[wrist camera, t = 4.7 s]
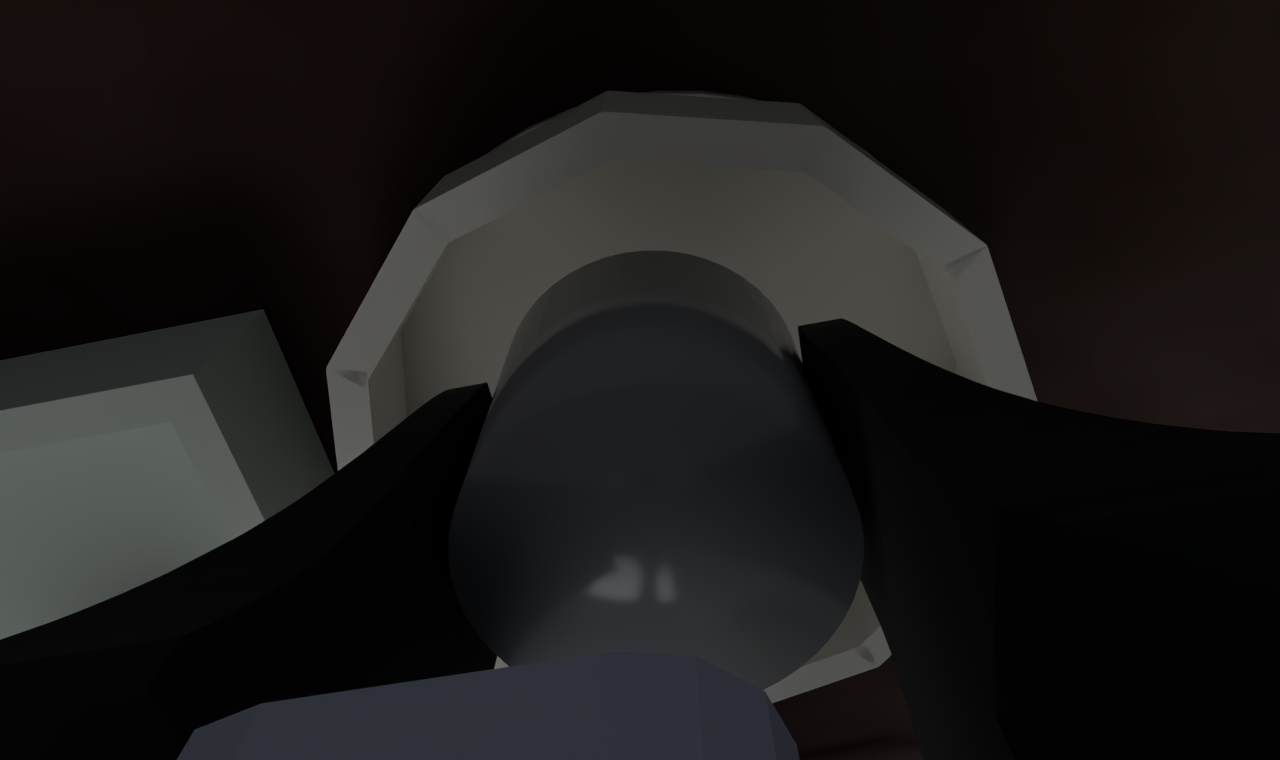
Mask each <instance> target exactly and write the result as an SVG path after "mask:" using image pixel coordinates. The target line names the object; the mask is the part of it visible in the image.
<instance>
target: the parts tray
mask: <svg viewBox="0 0 1280 760" xmlns="http://www.w3.org/2000/svg"><path fill="white" fill-rule="evenodd" d="M333 474H335V473H334V471H333V469H332V466H331V464H330V462H329V459H328V457H327V455H326V453H325V450H324V448H323V446H322V443H321V441H320V439H319V436H318V434H317V432H316V429H315V427H314V425H313V423H312V420H311V418H310V416H309V413H308V411H307V409H306V406H305V404H304V402H303V399H302V397H301V395H300V392H299V390H298V388H297V386H296V383H295V381H294V379H293V376H292V374H291V372H290V369H289V367H288V365H287V362H286V360H285V358H284V355H283V353H282V351H281V349H280V346H279V344H278V342H277V339H276V337H275V335H274V332H273V330H272V328H271V325H270V323H269V321H268V318H267V316H266V314H265V312H264V309H262V310H256V311H251V312H246V313H241V314H236V315H231V316H226V317H220V318H215V319H210V320H205V321H200V322H195V323H190V324H185V325H179V326H174V327H169V328H164V329H159V330H154V331H149V332H143V333H138V334H133V335H128V336H123V337H118V338H113V339H108V340H102V341H97V342H92V343H87V344H82V345H77V346H72V347H66V348H61V349H56V350H51V351H46V352H41V353H36V354H31V355H25V356H20V357H15V358H10V359H5V360H0V640H1V639H4V638H6V637H9V636H12V635H15V634H18V633H21V632H24V631H26V630H29V629H32V628H35V627H38V626H41V625H44V624H47V623H49V622H52V621H55V620H57V619H60V618H63V617H65V616H68V615H70V614H73V613H76V612H78V611H81V610H83V609H85V608H88V607H90V606H93V605H95V604H98V603H100V602H102V601H105V600H107V599H110V598H112V597H115V596H117V595H119V594H122V593H124V592H126V591H129V590H131V589H133V588H135V587H137V586H140V585H142V584H144V583H146V582H149V581H151V580H153V579H155V578H158V577H160V576H162V575H164V574H166V573H168V572H170V571H172V570H174V569H176V568H178V567H180V566H182V565H184V564H186V563H188V562H190V561H192V560H194V559H195V558H197V557H199V556H201V555H203V554H205V553H207V552H209V551H211V550H213V549H215V548H217V547H219V546H221V545H223V544H225V543H227V542H229V541H230V540H232V539H234V538H236V537H238V536H240V535H241V534H243V533H245V532H247V531H248V530H250V529H252V528H253V527H255V526H257V525H258V524H260V523H262V522H263V521H265V520H267V519H268V518H270V517H272V516H273V515H275V514H277V513H278V512H280V511H281V510H283V509H284V508H286V507H288V506H289V505H291V504H292V503H294V502H295V501H297V500H298V499H300V498H301V497H303V496H304V495H306V494H307V493H309V492H310V491H311V490H313V489H314V488H316V487H317V486H318V485H320V484H321V483H322V482H324V481H325V480H326V479H328V478H329V477H330V476H332V475H333Z"/></svg>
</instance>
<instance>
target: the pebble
mask: <svg viewBox="0 0 1280 760" xmlns="http://www.w3.org/2000/svg"><path fill="white" fill-rule="evenodd" d="M448 558H449V566H450V575H451V579H452V582H453V586H454V589H455V593H456V596H457V599H458V601H459V603H460V605H461V607H462V609H463V612H464V614H465V616H466V618H467V619H468V621H469V622H470V624H471V625H472V627H473V628H474V630H475V631H476V633H477V634H478V636H479V637H480V638H481V639H482V640H483V641H484V643H485V644H486V645H487V646H488V647H489V648H490V649H491V651H492V652H493V653H495V654H496V655H497V656H498V657H499V658H500V659H501V660H502V661H503V662H505V663H506V664H507V665H508V666H509V667H511V666H518V665H525V664H531V663H538V662H545V661H552V660H558V659H565V658H572V657H579V656H585V655H592V654H599V653H606V652H623V653H643V654H663V655H683V656H696V657H698V658H700V659H702V660H704V661H706V662H708V663H710V664H712V665H714V666H715V667H717V668H719V669H721V670H723V671H725V672H727V673H729V674H731V675H733V676H735V677H737V678H739V679H741V680H743V681H745V682H747V683H749V684H751V685H753V686H755V687H757V688H759V689H761V690H764V689H766V688H768V687H770V686H772V685H774V684H776V683H778V682H780V681H781V680H783V679H784V678H786V677H787V676H789V675H790V674H792V673H793V672H795V671H796V670H798V669H799V668H800V667H801V666H803V665H804V664H805V663H806V662H807V661H808V660H810V659H811V658H812V657H813V656H814V655H816V654H817V652H818V651H819V650H820V649H821V648H822V647H823V646H824V645H825V644H826V643H827V642H828V640H829V639H830V638H831V637H832V636H833V634H834V633H835V631H836V630H837V629H838V627H839V626H840V624H841V623H842V621H843V620H844V618H845V616H846V614H847V612H848V610H849V608H850V606H851V604H852V602H853V600H854V597H855V594H856V591H857V588H858V585H859V582H860V579H861V573H862V566H863V560H864V535H863V529H862V523H861V518H860V513H859V510H858V507H857V504H856V502H855V499H854V496H853V493H852V490H851V488H850V485H849V483H848V480H847V477H846V475H845V472H844V470H843V467H842V465H841V462H840V459H839V457H838V454H837V452H836V449H835V447H834V444H833V441H832V439H831V436H830V434H829V431H828V428H827V426H826V423H825V421H824V418H823V416H822V413H821V410H820V408H819V405H818V403H817V400H816V398H815V395H814V392H813V390H812V387H811V385H810V382H809V379H808V377H807V374H806V372H805V369H804V367H803V364H802V361H801V359H800V356H799V354H798V351H797V348H796V346H795V343H794V341H793V338H792V336H791V333H790V331H789V329H788V327H787V326H786V324H785V322H784V320H783V318H782V317H781V315H780V314H779V312H778V311H777V310H776V308H775V307H774V306H773V304H772V303H771V302H770V301H769V300H768V299H767V298H766V297H765V296H764V295H763V294H762V293H761V291H760V290H759V289H758V288H756V287H755V286H754V285H752V284H751V283H750V282H748V281H747V280H746V279H745V278H743V277H742V276H740V275H738V274H737V273H735V272H733V271H732V270H730V269H728V268H726V267H725V266H722V265H720V264H717V263H715V262H712V261H710V260H708V259H705V258H701V257H697V256H694V255H690V254H686V253H679V252H671V251H648V250H644V251H635V252H627V253H621V254H617V255H613V256H609V257H605V258H602V259H599V260H597V261H594V262H592V263H589V264H586V265H584V266H582V267H580V268H578V269H577V270H575V271H573V272H571V273H569V274H568V275H566V276H565V277H563V278H562V279H560V280H559V281H558V282H556V283H555V284H554V285H552V286H551V287H550V288H549V289H548V290H547V291H546V292H545V293H544V294H543V295H542V296H541V297H540V298H539V299H537V301H536V302H535V303H534V304H533V306H532V307H531V308H530V310H529V311H528V312H527V313H526V315H525V316H524V318H523V320H522V322H521V323H520V325H519V327H518V329H517V330H516V333H515V335H514V338H513V340H512V343H511V345H510V348H509V351H508V354H507V357H506V360H505V363H504V366H503V368H502V371H501V374H500V377H499V380H498V383H497V386H496V389H495V392H494V395H493V398H492V401H491V403H490V406H489V409H488V412H487V415H486V418H485V421H484V424H483V427H482V430H481V433H480V436H479V438H478V441H477V444H476V447H475V450H474V453H473V456H472V459H471V462H470V465H469V468H468V471H467V473H466V476H465V479H464V482H463V485H462V488H461V491H460V494H459V497H458V500H457V503H456V506H455V508H454V512H453V516H452V521H451V526H450V530H449V545H448Z"/></svg>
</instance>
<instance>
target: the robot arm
mask: <svg viewBox="0 0 1280 760" xmlns="http://www.w3.org/2000/svg"><path fill="white" fill-rule="evenodd" d="M798 333H799V341H800V349H801V357H802V364H803V367H804V369H805V372H806V374H807V377H808V379H809V382H810V385H811V387H812V390H813V392H814V395H815V398H816V400H817V403H818V405H819V408H820V410H821V413H822V416H823V418H824V421H825V423H826V426H827V428H828V431H829V434H830V436H831V439H832V441H833V444H834V447H835V449H836V452H837V454H838V457H839V459H840V462H841V465H842V467H843V470H844V472H845V475H846V477H847V480H848V483H849V485H850V488H851V490H852V493H853V496H854V499H855V502H856V504H857V507H858V510H859V513H860V518H861V523H862V529H863V535H864V560H863V566H862V573H861V579H860V580H861V582H862V584H863V587H864V589H865V591H866V593H867V596H868V598H869V600H870V603H871V605H872V607H873V610H874V612H875V614H876V616H877V619H878V621H879V623H880V626H881V628H882V631H883V633H884V636H885V638H886V641H887V644H888V646H889V649H890V652H891V654H892V657H893V660H894V663H895V667H896V670H897V673H898V676H899V680H900V683H901V686H902V689H903V693H904V696H905V699H906V702H907V706H908V709H909V712H910V715H911V719H912V722H913V725H914V728H915V732H916V735H917V739H918V742H919V745H920V749H921V752H922V755H923V759H924V760H1280V434H1277V433H1252V432H1228V431H1215V430H1205V429H1196V428H1187V427H1177V426H1168V425H1159V424H1151V423H1144V422H1138V421H1131V420H1124V419H1118V418H1112V417H1107V416H1102V415H1097V414H1092V413H1087V412H1082V411H1077V410H1072V409H1067V408H1062V407H1058V406H1054V405H1050V404H1046V403H1042V402H1038V401H1035V400H1031V399H1028V398H1025V397H1021V396H1018V395H1014V394H1011V393H1008V392H1004V391H1001V390H998V389H995V388H992V387H989V386H986V385H983V384H980V383H978V382H975V381H972V380H970V379H967V378H965V377H963V376H960V375H958V374H955V373H953V372H950V371H948V370H945V369H943V368H941V367H938V366H936V365H934V364H932V363H930V362H927V361H925V360H923V359H921V358H919V357H917V356H915V355H913V354H911V353H909V352H907V351H905V350H903V349H901V348H899V347H897V346H895V345H893V344H891V343H889V342H887V341H886V340H884V339H882V338H880V337H878V336H876V335H874V334H873V333H871V332H869V331H867V330H865V329H863V328H861V327H860V326H858V325H856V324H854V323H852V322H850V321H848V320H845V319H843V318H840V319H834V320H829V321H823V322H818V323H812V324H807V325H801V326H798ZM491 401H492V396H491V393H490V389H489V386H488V383H487V382H486V383H481V384H475V385H470V386H464V387H459V388H453V389H448V390H445V391H443V392H442V393H440V394H438V395H436V396H435V397H433V398H432V399H430V400H429V401H428V402H426V403H425V404H424V405H422V406H421V407H420V408H418V409H417V410H416V411H414V412H413V413H412V414H411V415H409V416H408V417H407V418H406V419H404V420H403V421H402V422H401V423H399V424H398V425H397V426H395V427H394V428H393V429H392V430H390V431H389V432H388V433H387V434H385V435H384V436H383V437H382V438H380V439H379V440H378V441H377V442H375V443H374V444H373V445H372V446H370V447H369V448H368V449H367V450H365V451H364V452H363V453H362V454H360V455H359V456H358V457H356V458H355V459H354V460H352V461H351V462H349V463H348V464H347V465H345V466H344V467H343V468H341V469H340V470H339V471H337V472H336V473H335V474H333V475H332V476H330V477H329V478H328V479H326V480H325V481H324V482H322V483H321V484H320V485H318V486H317V487H316V488H314V489H313V490H311V491H310V492H309V493H307V494H306V495H304V496H303V497H301V498H300V499H298V500H297V501H295V502H294V503H292V504H291V505H289V506H288V507H286V508H284V509H283V510H281V511H280V512H278V513H277V514H275V515H273V516H272V517H270V518H268V519H267V520H265V521H263V522H262V523H260V524H258V525H257V526H255V527H253V528H252V529H250V530H248V531H247V532H245V533H243V534H241V535H240V536H238V537H236V538H234V539H232V540H230V541H229V542H227V543H225V544H223V545H221V546H219V547H217V548H215V549H213V550H211V551H209V552H207V553H205V554H203V555H201V556H199V557H197V558H195V559H194V560H192V561H190V562H188V563H186V564H184V565H182V566H180V567H178V568H176V569H174V570H172V571H170V572H168V573H166V574H164V575H162V576H160V577H158V578H155V579H153V580H151V581H149V582H146V583H144V584H142V585H140V586H137V587H135V588H133V589H131V590H129V591H126V592H124V593H122V594H119V595H117V596H115V597H112V598H110V599H107V600H105V601H102V602H100V603H98V604H95V605H93V606H90V607H88V608H85V609H83V610H81V611H78V612H76V613H73V614H70V615H68V616H65V617H63V618H60V619H57V620H55V621H52V622H49V623H47V624H44V625H41V626H38V627H35V628H32V629H29V630H26V631H24V632H21V633H18V634H15V635H12V636H9V637H6V638H4V639H1V640H0V760H800V759H799V754H798V749H797V745H796V743H795V741H794V739H793V738H792V736H791V734H790V733H789V731H788V729H787V728H786V726H785V724H784V723H783V721H782V719H781V717H780V716H779V714H778V712H777V711H776V709H775V707H774V706H773V704H772V702H771V701H770V699H769V697H768V695H767V694H766V692H765V691H763V690H761V689H759V688H757V687H755V686H753V685H751V684H749V683H747V682H745V681H743V680H741V679H739V678H737V677H735V676H733V675H731V674H729V673H727V672H725V671H723V670H721V669H719V668H717V667H715V666H714V665H712V664H710V663H708V662H706V661H704V660H702V659H700V658H698V657H696V656H683V655H663V654H643V653H623V652H606V653H599V654H592V655H585V656H579V657H572V658H565V659H558V660H552V661H545V662H538V663H531V664H525V665H518V666H511V667H504V668H498V669H494V668H495V664H496V659H497V655H496V654H495V653H493V652H492V651H491V649H490V648H489V647H488V646H487V645H486V644H485V643H484V641H483V640H482V639H481V638H480V637H479V636H478V634H477V633H476V631H475V630H474V628H473V627H472V625H471V624H470V622H469V621H468V619H467V618H466V616H465V614H464V612H463V609H462V607H461V605H460V603H459V601H458V599H457V596H456V593H455V589H454V586H453V582H452V579H451V575H450V566H449V558H448V545H449V530H450V526H451V521H452V516H453V512H454V508H455V506H456V503H457V500H458V497H459V494H460V491H461V488H462V485H463V482H464V479H465V476H466V473H467V471H468V468H469V465H470V462H471V459H472V456H473V453H474V450H475V447H476V444H477V441H478V438H479V436H480V433H481V430H482V427H483V424H484V421H485V418H486V415H487V412H488V409H489V406H490V403H491Z"/></svg>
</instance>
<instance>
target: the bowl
mask: <svg viewBox="0 0 1280 760" xmlns="http://www.w3.org/2000/svg"><path fill="white" fill-rule="evenodd" d="M644 250H648V251H671V252H679V253H686V254H690V255H694V256H697V257H701V258H705V259H708V260H710V261H712V262H715V263H717V264H720V265H722V266H725V267H726V268H728V269H730V270H732V271H733V272H735V273H737V274H738V275H740V276H742V277H743V278H745V279H746V280H747V281H748V282H750V283H751V284H752V285H754V286H755V287H756V288H758V289H759V290H760V291H761V293H762V294H763V295H764V296H765V297H766V298H767V299H768V300H769V301H770V302H771V303H772V304H773V306H774V307H775V308H776V310H777V311H778V312H779V314H780V315H781V317H782V318H783V320H784V322H785V324H786V326H787V327H788V329H789V331H790V333H791V336H792V338H793V341H794V343H795V346H796V348H797V351H798V354H799V356H800V359H801V361H802V357H801V349H800V341H799V333H798V326H801V325H807V324H812V323H818V322H823V321H829V320H834V319H840V318H843V319H845V320H848V321H850V322H852V323H854V324H856V325H858V326H860V327H861V328H863V329H865V330H867V331H869V332H871V333H873V334H874V335H876V336H878V337H880V338H882V339H884V340H886V341H887V342H889V343H891V344H893V345H895V346H897V347H899V348H901V349H903V350H905V351H907V352H909V353H911V354H913V355H915V356H917V357H919V358H921V359H923V360H925V361H927V362H930V363H932V364H934V365H936V366H938V367H941V368H943V369H945V370H948V371H950V372H953V373H955V374H958V375H960V376H963V377H965V378H967V379H970V380H972V381H975V382H978V383H980V384H983V385H986V386H989V387H992V388H995V389H998V390H1001V391H1004V392H1008V393H1011V394H1014V395H1018V396H1021V397H1025V398H1028V399H1031V400H1035V401H1037V398H1036V395H1035V392H1034V389H1033V386H1032V383H1031V380H1030V376H1029V373H1028V370H1027V367H1026V364H1025V361H1024V358H1023V355H1022V352H1021V349H1020V345H1019V342H1018V339H1017V336H1016V333H1015V330H1014V327H1013V324H1012V321H1011V318H1010V314H1009V311H1008V308H1007V305H1006V302H1005V299H1004V296H1003V293H1002V290H1001V287H1000V284H999V280H998V277H997V274H996V271H995V268H994V265H993V262H992V259H991V256H990V253H989V249H988V246H987V245H986V244H985V243H984V242H983V241H981V240H980V239H979V238H978V237H977V236H976V235H974V234H973V233H972V232H971V231H970V230H968V229H967V228H966V227H965V226H964V225H962V224H961V223H960V222H959V221H958V220H956V219H955V218H954V217H953V216H952V215H950V214H949V213H948V212H947V211H946V210H944V209H943V208H942V207H941V206H939V205H938V204H937V203H935V202H934V201H932V200H931V199H930V198H928V197H927V196H926V195H924V194H923V193H922V192H920V191H919V190H917V189H916V188H915V187H913V186H912V185H911V184H909V183H908V182H907V181H905V180H904V179H902V178H901V177H900V176H898V175H897V174H896V173H894V172H893V171H892V170H890V169H889V168H887V167H886V166H885V165H883V164H882V163H881V162H879V161H878V160H877V159H875V158H874V157H873V156H872V155H870V154H869V153H868V152H867V151H866V150H865V149H863V148H862V147H860V146H859V145H857V144H856V143H854V142H852V141H851V140H849V139H848V138H847V137H845V136H844V135H842V134H841V133H840V132H838V131H837V130H836V129H834V128H833V127H832V126H830V125H829V124H827V123H826V122H825V121H823V120H822V119H821V118H819V117H818V116H817V115H815V114H814V113H812V112H811V111H810V110H808V109H807V108H806V107H804V106H803V105H802V104H799V103H788V102H773V101H760V100H756V99H753V98H749V97H746V96H739V95H732V94H724V93H717V92H710V91H702V90H656V91H649V92H642V93H637V92H622V91H608V92H607V91H606V92H604V93H602V94H600V95H598V96H596V97H594V98H592V99H591V100H589V101H587V102H585V103H583V104H581V105H579V106H577V107H574V108H570V109H568V110H565V111H563V112H561V113H559V114H556V115H554V116H552V117H549V118H547V119H545V120H543V121H540V122H538V123H536V124H534V125H531V126H529V127H527V128H526V129H524V130H523V131H521V132H519V133H518V134H516V135H515V136H513V137H511V138H510V139H508V140H506V141H505V142H503V143H502V144H500V145H498V146H497V147H495V148H494V149H492V150H491V151H490V152H489V153H487V154H486V155H484V156H482V157H480V158H478V159H476V160H474V161H472V162H470V163H469V164H467V165H465V166H463V167H461V168H459V169H457V170H455V171H453V172H451V173H450V174H448V175H446V176H444V177H443V178H442V179H441V180H440V181H439V182H438V183H437V184H436V186H435V187H434V188H433V189H432V190H431V191H430V192H429V193H428V194H427V195H426V197H425V198H424V199H423V200H422V201H421V202H420V203H419V204H418V205H417V206H416V207H415V209H414V210H413V211H412V213H411V215H410V217H409V218H408V220H407V222H406V224H405V226H404V228H403V229H402V231H401V233H400V235H399V237H398V238H397V240H396V242H395V244H394V246H393V247H392V249H391V251H390V253H389V255H388V257H387V258H386V260H385V262H384V264H383V266H382V267H381V269H380V271H379V273H378V275H377V277H376V278H375V280H374V282H373V284H372V286H371V287H370V289H369V291H368V293H367V295H366V296H365V298H364V300H363V302H362V304H361V306H360V307H359V309H358V311H357V313H356V315H355V316H354V318H353V320H352V322H351V324H350V326H349V327H348V329H347V331H346V333H345V335H344V336H343V338H342V340H341V342H340V344H339V346H338V347H337V349H336V351H335V353H334V355H333V356H332V358H331V360H330V362H329V364H328V365H327V367H326V374H327V382H328V391H329V399H330V408H331V416H332V425H333V433H334V442H335V451H336V459H337V468H338V471H339V470H340V469H341V468H343V467H344V466H345V465H347V464H348V463H349V462H351V461H352V460H354V459H355V458H356V457H358V456H359V455H360V454H362V453H363V452H364V451H365V450H367V449H368V448H369V447H370V446H372V445H373V444H374V443H375V442H377V441H378V440H379V439H380V438H382V437H383V436H384V435H385V434H387V433H388V432H389V431H390V430H392V429H393V428H394V427H395V426H397V425H398V424H399V423H401V422H402V421H403V420H404V419H406V418H407V417H408V416H409V415H411V414H412V413H413V412H414V411H416V410H417V409H418V408H420V407H421V406H422V405H424V404H425V403H426V402H428V401H429V400H430V399H432V398H433V397H435V396H436V395H438V394H440V393H442V392H443V391H445V390H448V389H453V388H459V387H464V386H470V385H475V384H481V383H486V382H487V383H488V386H489V389H490V393H491V396H492V398H493V395H494V392H495V389H496V386H497V383H498V380H499V377H500V374H501V371H502V368H503V366H504V363H505V360H506V357H507V354H508V351H509V348H510V345H511V343H512V340H513V338H514V335H515V333H516V330H517V329H518V327H519V325H520V323H521V322H522V320H523V318H524V316H525V315H526V313H527V312H528V311H529V310H530V308H531V307H532V306H533V304H534V303H535V302H536V301H537V299H539V298H540V297H541V296H542V295H543V294H544V293H545V292H546V291H547V290H548V289H549V288H550V287H551V286H552V285H554V284H555V283H556V282H558V281H559V280H560V279H562V278H563V277H565V276H566V275H568V274H569V273H571V272H573V271H575V270H577V269H578V268H580V267H582V266H584V265H586V264H589V263H592V262H594V261H597V260H599V259H602V258H605V257H609V256H613V255H617V254H621V253H627V252H635V251H644ZM891 655H892V654H891V652H890V649H889V646H888V644H887V641H886V638H885V636H884V633H883V631H882V628H881V626H880V623H879V621H878V619H877V616H876V614H875V612H874V610H873V607H872V605H871V603H870V600H869V598H868V596H867V593H866V591H865V589H864V587H863V584H862V582H861V580H860V582H859V585H858V588H857V591H856V594H855V597H854V600H853V602H852V604H851V606H850V608H849V610H848V612H847V614H846V616H845V618H844V620H843V621H842V623H841V624H840V626H839V627H838V629H837V630H836V631H835V633H834V634H833V636H832V637H831V638H830V639H829V640H828V642H827V643H826V644H825V645H824V646H823V647H822V648H821V649H820V650H819V651H818V652H817V654H816V655H814V656H813V657H812V658H811V659H810V660H808V661H807V662H806V663H805V664H804V665H803V666H801V667H800V668H799V669H798V670H796V671H795V672H793V673H792V674H790V675H789V676H787V677H786V678H784V679H783V680H781V681H780V682H778V683H776V684H774V685H772V686H770V687H768V688H766V689H764V690H763V691H765V692H766V694H767V695H768V697H769V699H770V701H771V702H772V703H774V702H777V701H780V700H783V699H786V698H789V697H792V696H795V695H798V694H801V693H804V692H807V691H809V690H812V689H815V688H818V687H821V686H824V685H827V684H830V683H833V682H836V681H839V680H842V679H844V678H847V677H850V676H853V675H856V674H859V673H862V672H865V671H868V670H871V669H874V668H877V667H878V666H880V665H881V664H882V663H883V662H884V661H885V660H887V659H888V658H889V657H890V656H891ZM504 667H509V666H508V665H507V664H506V663H505V662H503V661H502V660H501V659H500V658H499V657H498V656H497V659H496V664H495V668H494V669H498V668H504Z"/></svg>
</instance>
